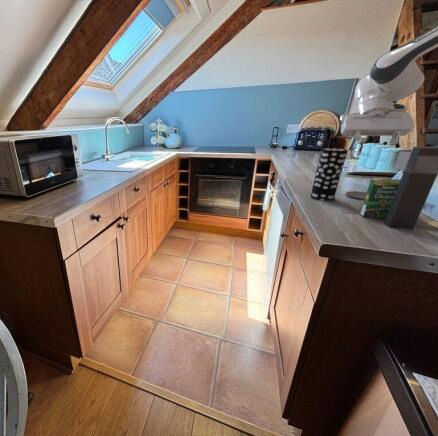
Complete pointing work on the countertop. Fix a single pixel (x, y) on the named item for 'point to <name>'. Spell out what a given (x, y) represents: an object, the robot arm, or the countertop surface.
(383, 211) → the coffee box
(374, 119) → the robot arm
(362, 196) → the coaster
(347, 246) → the countertop surface
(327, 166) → the spotted tube
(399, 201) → the tall grey box
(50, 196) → the countertop surface
